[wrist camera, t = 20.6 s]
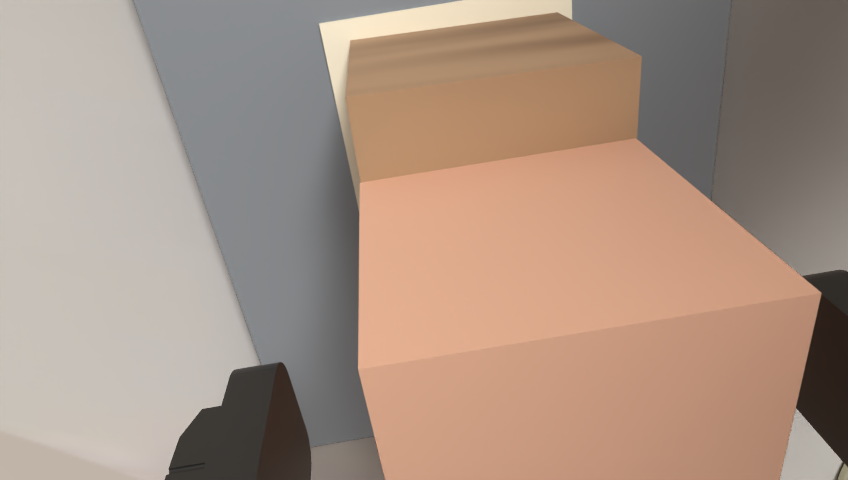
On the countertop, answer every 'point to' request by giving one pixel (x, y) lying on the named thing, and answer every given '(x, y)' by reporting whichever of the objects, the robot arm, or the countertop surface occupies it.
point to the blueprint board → (335, 154)
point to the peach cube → (574, 324)
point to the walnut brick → (487, 94)
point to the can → (843, 473)
